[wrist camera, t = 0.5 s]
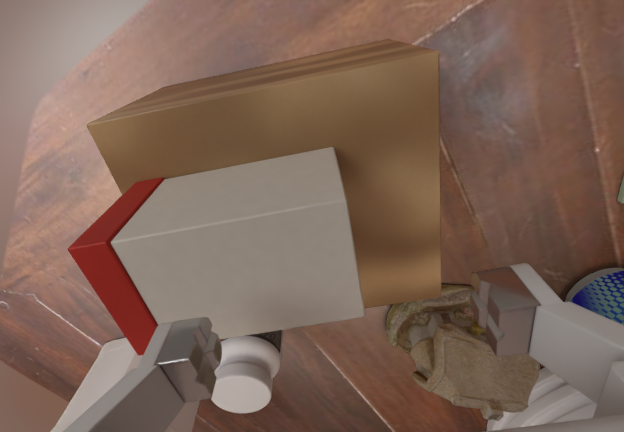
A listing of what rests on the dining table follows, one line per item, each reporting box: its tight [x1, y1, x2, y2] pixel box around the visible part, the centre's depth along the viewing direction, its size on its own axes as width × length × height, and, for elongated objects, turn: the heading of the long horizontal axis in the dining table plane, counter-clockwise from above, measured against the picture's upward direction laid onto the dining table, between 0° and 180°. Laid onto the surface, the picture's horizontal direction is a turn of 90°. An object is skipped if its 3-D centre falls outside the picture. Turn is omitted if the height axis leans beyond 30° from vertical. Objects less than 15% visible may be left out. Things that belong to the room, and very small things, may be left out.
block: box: [87, 39, 441, 308], centre depth 23 cm, size 14×16×10 cm
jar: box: [51, 337, 200, 432], centre depth 32 cm, size 12×10×15 cm
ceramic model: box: [386, 284, 540, 421], centre depth 32 cm, size 14×11×10 cm
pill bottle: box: [211, 330, 283, 413], centre depth 30 cm, size 6×6×10 cm
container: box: [68, 147, 365, 356], centre depth 16 cm, size 6×10×6 cm, turn 101°
